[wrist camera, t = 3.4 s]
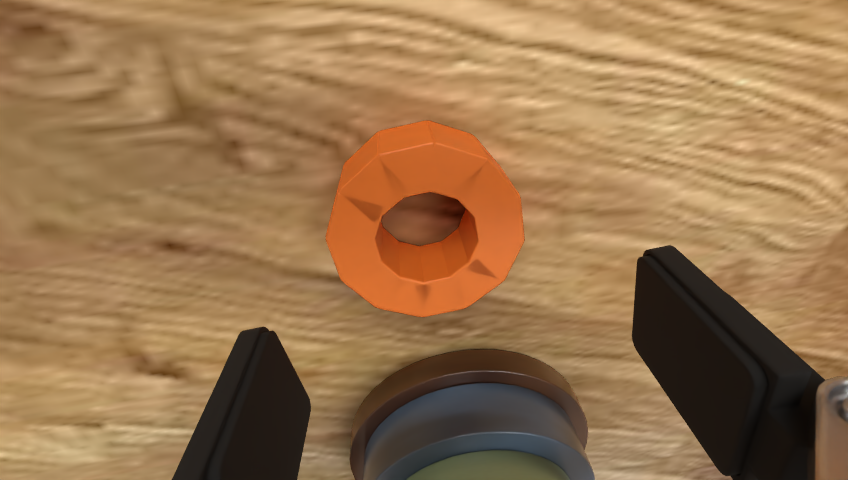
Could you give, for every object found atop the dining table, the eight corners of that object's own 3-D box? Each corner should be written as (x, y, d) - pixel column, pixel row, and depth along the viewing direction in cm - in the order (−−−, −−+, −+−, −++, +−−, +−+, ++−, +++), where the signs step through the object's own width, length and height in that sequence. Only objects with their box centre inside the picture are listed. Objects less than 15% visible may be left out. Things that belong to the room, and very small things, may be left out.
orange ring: (300, 204, 17) (286, 238, 15) (429, 82, 15) (437, 98, 13) (415, 301, 20) (419, 342, 18) (536, 209, 18) (559, 242, 16)
